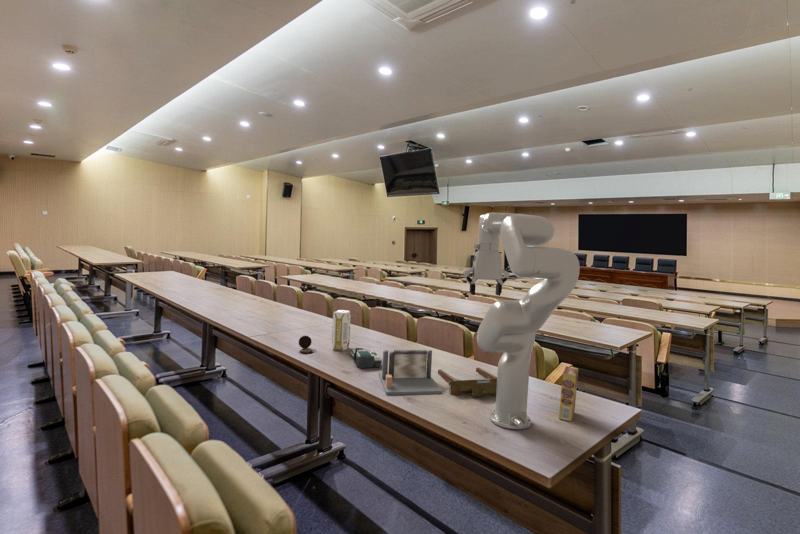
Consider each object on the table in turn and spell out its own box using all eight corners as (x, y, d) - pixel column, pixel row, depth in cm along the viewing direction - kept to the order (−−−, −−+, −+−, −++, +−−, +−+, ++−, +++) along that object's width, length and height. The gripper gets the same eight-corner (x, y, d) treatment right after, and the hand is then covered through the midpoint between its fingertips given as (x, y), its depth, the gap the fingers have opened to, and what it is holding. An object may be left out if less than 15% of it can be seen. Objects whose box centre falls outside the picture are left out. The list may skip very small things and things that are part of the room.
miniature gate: (487, 363, 176) (526, 382, 148) (487, 376, 176) (526, 397, 147) (429, 366, 169) (458, 386, 140) (428, 379, 169) (457, 402, 140)
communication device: (371, 353, 198) (372, 336, 197) (382, 368, 175) (383, 348, 174) (346, 354, 194) (347, 336, 194) (355, 369, 172) (356, 349, 171)
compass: (300, 354, 190) (301, 339, 189) (298, 350, 197) (298, 335, 197) (317, 353, 193) (318, 338, 192) (314, 349, 200) (315, 334, 200)
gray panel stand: (441, 393, 148) (443, 361, 147) (386, 394, 144) (387, 361, 143) (426, 373, 169) (428, 345, 169) (378, 374, 166) (379, 345, 165)
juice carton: (350, 347, 206) (351, 310, 205) (345, 351, 198) (346, 313, 196) (336, 345, 207) (337, 309, 206) (330, 350, 199) (331, 311, 198)
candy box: (572, 422, 128) (576, 375, 127) (558, 419, 130) (561, 372, 129) (575, 412, 136) (578, 368, 135) (561, 409, 138) (564, 365, 137)
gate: (388, 378, 157) (390, 351, 157) (388, 376, 159) (389, 350, 159) (426, 377, 160) (427, 351, 159) (424, 375, 162) (425, 349, 161)
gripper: (468, 247, 143) (465, 295, 144) (514, 249, 145) (511, 297, 146) (462, 247, 150) (459, 292, 151) (506, 249, 152) (503, 294, 154)
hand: (485, 294), depth 149 cm, fingers open, 9 cm apart
